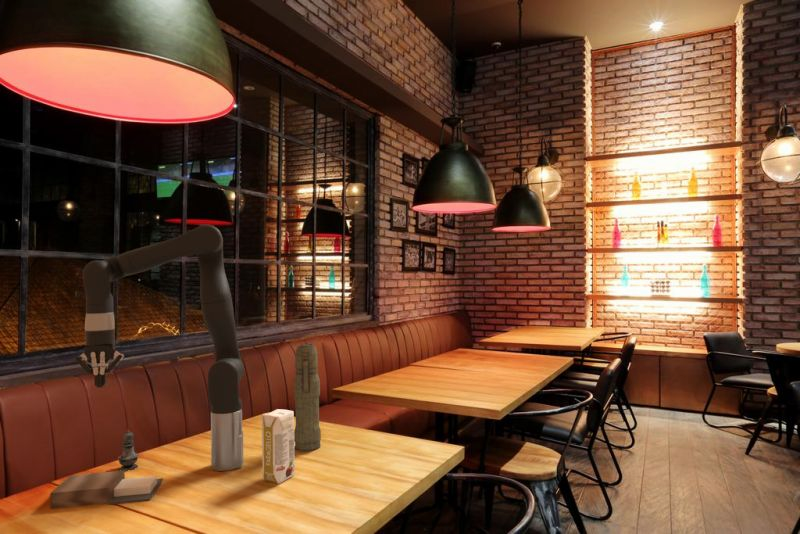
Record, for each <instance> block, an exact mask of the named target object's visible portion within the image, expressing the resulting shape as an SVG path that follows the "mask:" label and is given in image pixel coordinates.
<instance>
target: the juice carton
mask: <svg viewBox="0 0 800 534" xmlns="http://www.w3.org/2000/svg"><path fill="white" fill-rule="evenodd" d="M294 415H295V413H294V410H288V409H283V408H281V409H279V408H276V409H275V410H273V411H271V412H266V413H263V414H262V413H261V439H262V440H261V441H262V444H261V445H262V446H261V449H262V451H261V452H262V453H261V454H262V456H261V457H262V460H261V461H262V480H263V481H266V482H270V483H274V484H282V483H283V482H284V481H287V480H289V479H290V478H292V477H294V476H295V475H296V474H295V473H296V472H295V470H296V469H295V464H296V463H295V441H294V431H295V416H294Z"/></svg>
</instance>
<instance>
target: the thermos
mask: <svg viewBox="0 0 800 534" xmlns="http://www.w3.org/2000/svg"><path fill="white" fill-rule="evenodd" d="M318 357H319V355H318V350H317V347H316V345H314V344H313V343H303V344H299V345H297V347H296V350H295V353H294V359H295V360H294V362H295V363H294V366H295V376H294V379H293V397H294V399H295V401H294V403H295V406H294V407H295V426H294V450H296V451H298V452H307V453H308V452H314V451H317V450H319V449H321V440H322V432H321V428H320V399H319V398H320V396H321V380H320V376H319V371H318V367H319V365H318V364H319V363H318V362H319V361H318V359H319V358H318Z"/></svg>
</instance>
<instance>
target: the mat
mask: <svg viewBox="0 0 800 534" xmlns="http://www.w3.org/2000/svg"><path fill="white" fill-rule="evenodd" d="M163 481H164V478H162V477H161V478H157V484H156V485H155V487H154V488H153V490H152V491H151V493H149V494H138V495H128V496H117V497H113V498H112V499H111V500H110V502H109V503H108V505H117V504H118V505H119V504H127V503H128V504H129V503H139V502H146V501H147V502H148V501H151V500H152V498H153V497H154V495H155V493H156V492H157V490H158V489H159V487H160V486H161V484H162V482H163Z"/></svg>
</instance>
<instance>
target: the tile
mask: <svg viewBox="0 0 800 534" xmlns="http://www.w3.org/2000/svg"><path fill="white" fill-rule="evenodd" d="M157 479H158V477H157V475H154V476H143V477H134V478H133V477H131V478H125V479H122V480H121V481H120V483H119V484H118V485H117V486H116V487H115V488H114V497H117V496H128V495H138V494H149V493H151V491H152V490H153V488H154V487H155V485H156V484H157Z"/></svg>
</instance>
